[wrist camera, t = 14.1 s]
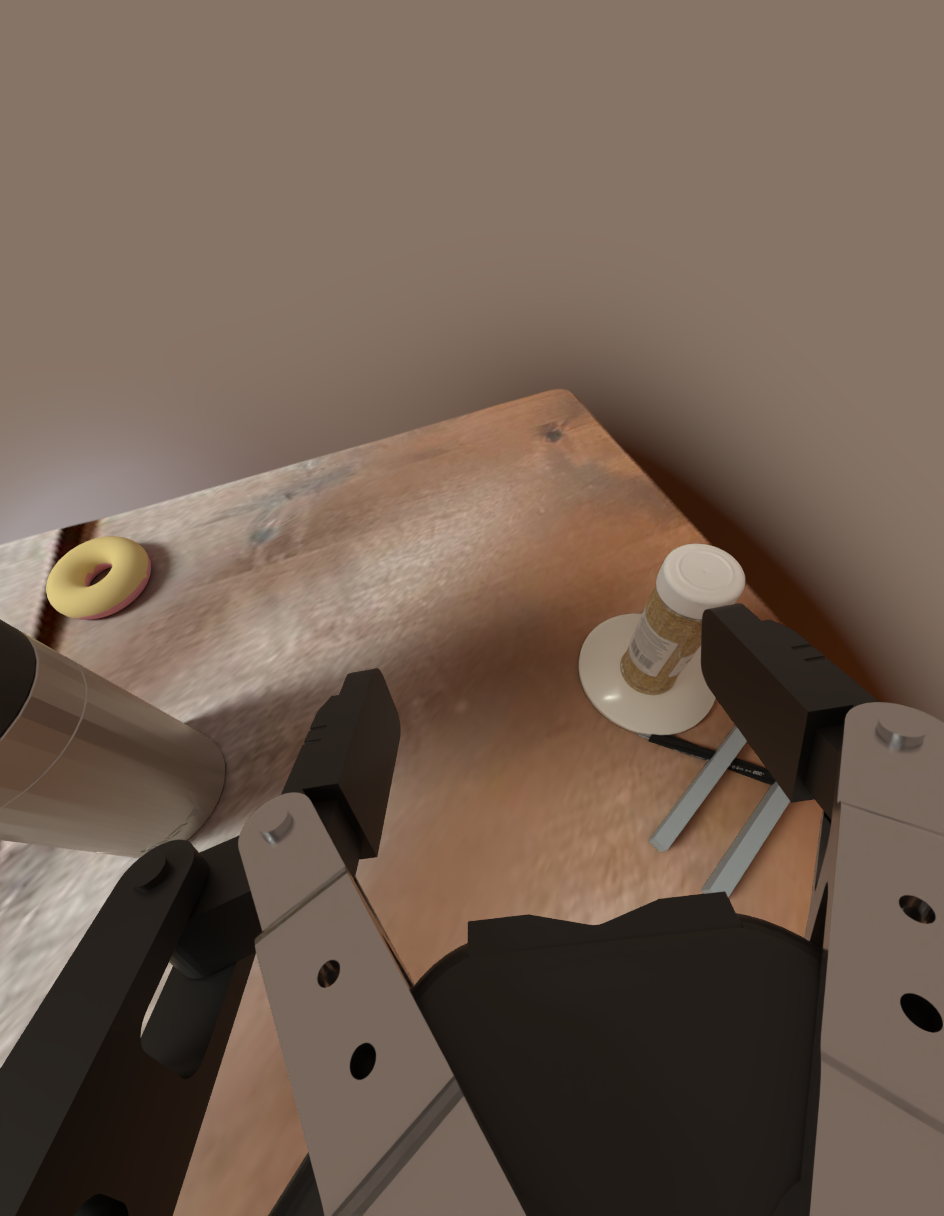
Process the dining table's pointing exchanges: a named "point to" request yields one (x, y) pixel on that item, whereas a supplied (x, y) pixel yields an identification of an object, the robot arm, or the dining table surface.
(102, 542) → the donut
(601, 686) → the coaster
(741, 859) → the grey u-shaped piece
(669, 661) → the sprinkles bottle
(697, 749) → the black marker pen
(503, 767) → the dining table surface
